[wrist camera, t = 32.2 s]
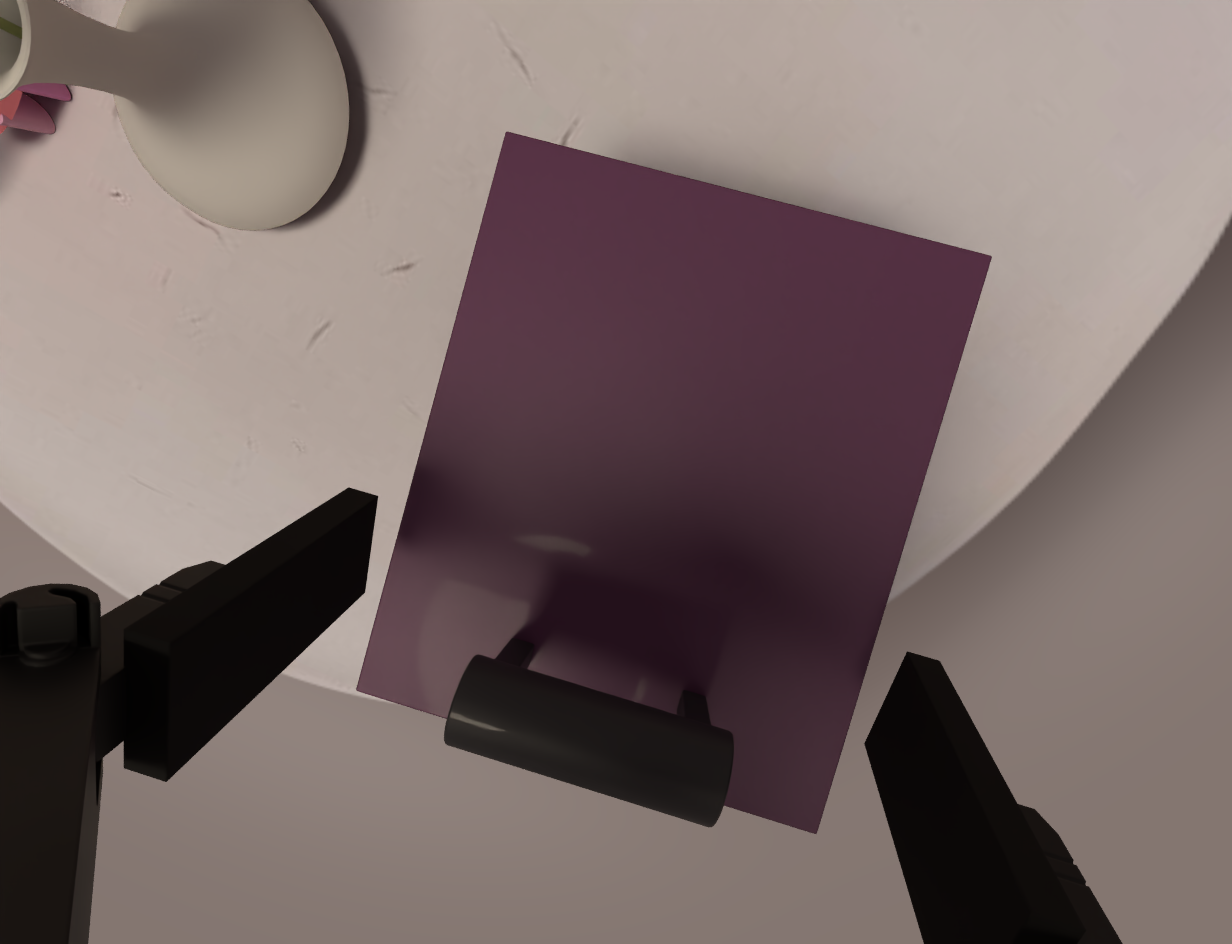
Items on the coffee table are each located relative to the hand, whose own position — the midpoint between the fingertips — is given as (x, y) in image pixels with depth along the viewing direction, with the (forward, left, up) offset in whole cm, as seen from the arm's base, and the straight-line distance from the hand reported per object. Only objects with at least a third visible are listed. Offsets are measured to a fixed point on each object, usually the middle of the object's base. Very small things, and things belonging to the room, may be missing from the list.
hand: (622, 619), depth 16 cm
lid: (+1, +2, -4) cm, 5 cm away
